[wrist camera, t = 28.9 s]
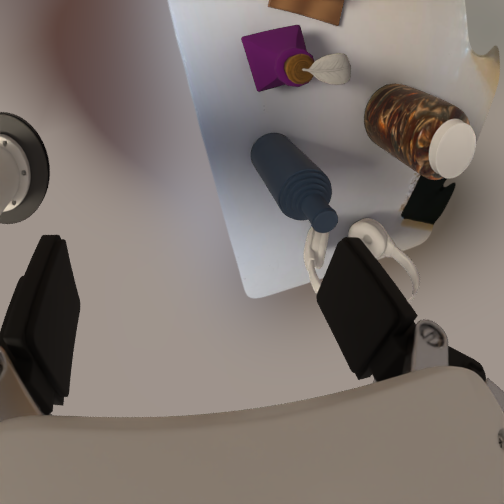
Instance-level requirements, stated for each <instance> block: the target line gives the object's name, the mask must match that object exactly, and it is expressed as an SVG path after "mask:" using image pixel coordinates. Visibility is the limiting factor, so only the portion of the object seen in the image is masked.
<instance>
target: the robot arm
mask: <svg viewBox="0 0 504 504" xmlns="http://www.w3.org/2000/svg"><path fill="white" fill-rule="evenodd" d="M25 171H26V172H25ZM30 179H31V173H30V166H29V162H28V159H27V157H26V154H25V152H24V151H23V149H22V148H21V146H20V145H19V144H18V143H17V142H16V141H15V140H13V139H12V138H11V137H9V136H7V135H4V134H0V215H1V213H2V212H4V211H9V210H12V209H14V208H15V207H17V206H18V205H19V204H20V203H21V202H22V200H23V199H24V198H25V196H26V194H27V192H28V190H29V186H30ZM317 302H318V305H319V307H320V309H321V311H322V313H323V314H324V317H325V319H326V320H327V323H328V325H329V327H330V328H331V331H332V333H333V335H334V337H335V339H336V341H337V343H338V344H339V347H340V349H341V351H342V353H343V355H344V357H345V359H346V361H347V363H348V365H349V367H350V369H351V371H352V372H353V373H355V374H356V376H357V378H358V380H360V379H364V378H367V377H370V376H371V375H373V376H374V381H373V383H372V384H369V385H366V386H362V387H358V388H354V389H350V390H346V391H342V392H338V393H334V394H329V395H325V396H320V397H315V398H311V399H306V400H301V401H296V402H290V403H285V404H280V405H273V406H267V407H260V408H253V409H246V410H239V411H231V412H221V413H212V414H201V415H188V416H169V417H82V416H54V415H52V414H51V412H52V411H53V405H63V402H64V397H67V396H68V394H69V386H70V376H71V367H72V358H73V351H74V343H75V337H76V330H77V324H78V318H79V313H80V299H79V296H78V292H77V288H76V284H75V281H74V276H73V272H72V268H71V264H70V259H69V254H68V250H67V245H66V241H65V240H64V239H61V238H60V236H59V235H43V236H42V237H41V239H40V241H39V243H38V245H37V247H36V249H35V252H34V254H33V256H32V258H31V261H30V263H29V265H28V268H27V270H26V272H25V275H24V276H22V277H21V278H20V279H19V281H18V283H17V286H16V288H15V291H14V294H13V296H12V299H11V302H10V305H9V307H8V310H7V313H6V316H5V319H4V322H3V325H2V328H1V331H0V504H504V392H503V391H502V390H501V389H500V388H499V387H498V386H497V385H496V384H494V383H493V382H492V381H491V380H490V379H489V378H487V379H486V376H485V372H484V370H483V367H482V365H481V364H480V363H479V362H477V361H476V360H474V359H472V358H470V357H468V356H466V355H465V354H463V353H461V352H459V351H457V350H455V349H453V348H451V347H449V346H448V339H447V336H446V334H445V332H444V330H443V329H442V328H441V327H440V326H439V325H438V324H436V323H435V322H433V321H430V320H425V319H423V320H420V321H419V322H418V323H417V324H415V323H414V320H415V318H416V317H417V314H416V313H415V311H414V310H413V308H412V307H411V305H410V304H409V303H408V301H407V300H406V298H405V297H404V296H403V294H402V293H401V291H400V290H399V289H398V287H397V286H396V284H395V283H394V282H393V280H392V279H391V278H390V277H389V275H388V274H387V273H386V271H385V270H384V269H383V267H382V266H381V264H380V263H379V262H378V260H377V259H376V258H375V257H374V255H373V254H372V253H371V251H370V250H369V249H368V248H367V246H366V245H365V244H364V243H363V241H362V240H361V239H360V238H358V237H345V238H343V239H342V241H340V242H338V244H337V247H336V249H335V252H334V254H333V257H332V259H331V262H330V264H329V266H328V269H327V271H326V274H325V276H324V278H323V281H322V283H321V285H320V288H319V290H318V292H317Z"/></svg>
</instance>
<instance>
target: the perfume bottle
mask: <svg viewBox="0 0 504 504" xmlns="http://www.w3.org/2000/svg"><path fill="white" fill-rule="evenodd" d="M241 40H242V43H243V46H244V49H245V52H246V56H247V59H248V62H249V65H250V69H251V72H252V75H253V79H254V82H255V85H256V89H257V91H258V92H260V91H264V90H267V89H271V88H274V87H278V86H282V85H285V84H286V85H287V86H295V87H300V86H302V85H304V84H307V83H309V81H310V80H311V79H312V78H313V76H315V77H316V78H317V79H318V80H320V81H322V82H325V83H328V84H335V85H339V84H345V83H346V82H348V81H349V80H350V77H351V65H350V63H349V60H348V57H347V55H345V54H341V53H336V54H330V55H327V56H324V57H322V58H320V59H318V60H316V61H314V59H313V56H312V55H311V54H310V53H308V52H307V50H306V46H305V42H304V38H303V35H302V31H301V27H300V25H293V26H288V27H283V28H278V29H273V30H269V31H264V32H260V33H256V34H251V35H248V36H244V37H242V38H241Z"/></svg>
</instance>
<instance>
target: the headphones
mask: <svg viewBox="0 0 504 504" xmlns="http://www.w3.org/2000/svg"><path fill="white" fill-rule="evenodd" d="M328 237H329V232H327V233H319V232H316V231H315V230H314V229H313V227H311V228H310V229H309V232H308V235H307V238H306V243H305V248H304V262H305V266H306V268H307V270H308V271H309V277H310V282H311V285H312V287H313V289H314V291H315V293H316V294H317V292H318V290H319V288H320V285H321V282H320V280H319V278H318V276H317V274H316V271H315V268H314V267H316V268H317V269H320V268H321V267H322V266H323V263H324V258H325V253H326V248H327V243H328ZM348 237H358V238H360V239H361V240H362V241H363V243H364V244H365V245H366V246H367V248H368V249H369V250H370V251H371V253H372V254H373V255H374V257H375V258H376V259H377V258H379V257H381V256H382V254H383V255H385V256H386V257H389V258H390V257H393V258H394V259H395V260H396V261H397V262H399V263H400V264H401V265H402V266H403V268H404V269H405V270H406V271H407V273H408V274H409V276H410V278H411V281H412V284H413V291H412V294H413V296H411V297H410V298H409V299H408V300H407V301H408V303H409V304H410V303H411V301H412V300H413V299H414V297H415V295H416V293H417V291H418V288H419V285H420V276H419V272H418V270H417V268H416V266H415V264H414V263H413V262H412V260H411V259H410V258H409V257H408V256H407V255H406V254H404V252H402V251H401V250H400V249H399V248H397V247H396V246H395V243H394V242H393V240H392V239H391V238H390V236H389V235H388V233H387V232H386V230H385V228H384V227H383V226H382V225H381V224H380V223H379V222H377V221H376V220H373V219H370V218H365V219H362V220H360V221H358V222H356V223H354V224H353V225H352V226H351V227H350V229H349V233H348Z"/></svg>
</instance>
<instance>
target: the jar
mask: <svg viewBox="0 0 504 504" xmlns="http://www.w3.org/2000/svg"><path fill="white" fill-rule="evenodd" d="M364 124H365V129H366V132H367V134H368V136H369V138H370V139H371V140H372V141H373V142H374V143H375V144H377V145H378V146H379V147H381V148H382V149H384V150H385V151H387V152H388V153H390V154H391V155H393V156H394V157H395V158H397V159H398V160H400V161H401V162H403V163H404V164H406V165H407V166H408V167H410V168H411V169H413V170H414V171H416V172H417V173H419V174H420V175H422V176H424V177H426V178H428V179H432V180H439V179H443V178H448V179H449V178H454V177H457V176H458V175H460V174H461V173H463V172H464V171H465V169H466V168H467V167H468V166H469V164H470V163H471V161H472V159H473V156H474V153H475V149H476V136H475V132H474V130H473V129H472V127H471V126H470V123H469V120H468V118H467V116H466V115H465V114H464V112H463V111H462V110H461V109H459V108H458V107H456V106H454V105H452V104H451V103H449V102H447V101H444V100H442V99H440V98H438V97H435V96H433V95H430V94H428V93H425V92H423V91H420V90H417V89H414V88H412V87H409V86H406V85H402V84H396V83H395V84H388V85H385V86H383V87H382V88H380V89H379V90H377V91H376V92H375V93H374V94H373V96H372V97H371V98H370V100H369V102H368V104H367V107H366V110H365V115H364Z"/></svg>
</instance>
